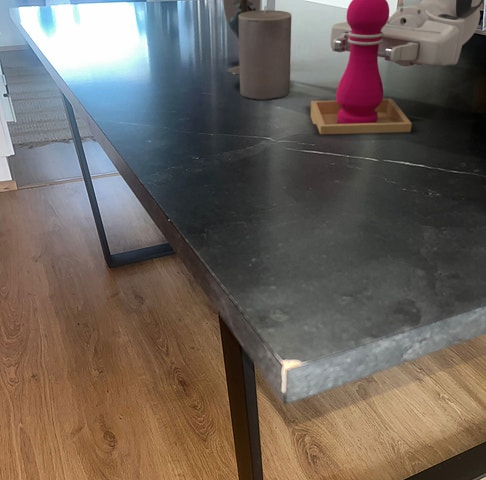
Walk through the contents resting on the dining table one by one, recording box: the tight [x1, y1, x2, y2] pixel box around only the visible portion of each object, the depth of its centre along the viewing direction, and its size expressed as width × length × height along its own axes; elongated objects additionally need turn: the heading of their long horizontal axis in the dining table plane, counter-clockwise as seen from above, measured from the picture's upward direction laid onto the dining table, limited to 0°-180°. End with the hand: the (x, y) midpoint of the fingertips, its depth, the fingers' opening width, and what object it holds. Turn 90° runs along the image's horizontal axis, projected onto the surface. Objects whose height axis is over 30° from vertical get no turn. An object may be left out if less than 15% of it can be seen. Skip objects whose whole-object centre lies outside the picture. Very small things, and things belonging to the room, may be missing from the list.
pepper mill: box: [335, 0, 390, 124], centre depth 79 cm, size 7×7×20 cm
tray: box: [310, 98, 413, 135], centre depth 84 cm, size 14×13×3 cm
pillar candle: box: [238, 5, 292, 101], centre depth 98 cm, size 10×10×15 cm
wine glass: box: [222, 0, 262, 75], centre depth 112 cm, size 8×8×15 cm
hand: (361, 50), depth 78 cm, fingers open, 8 cm apart
